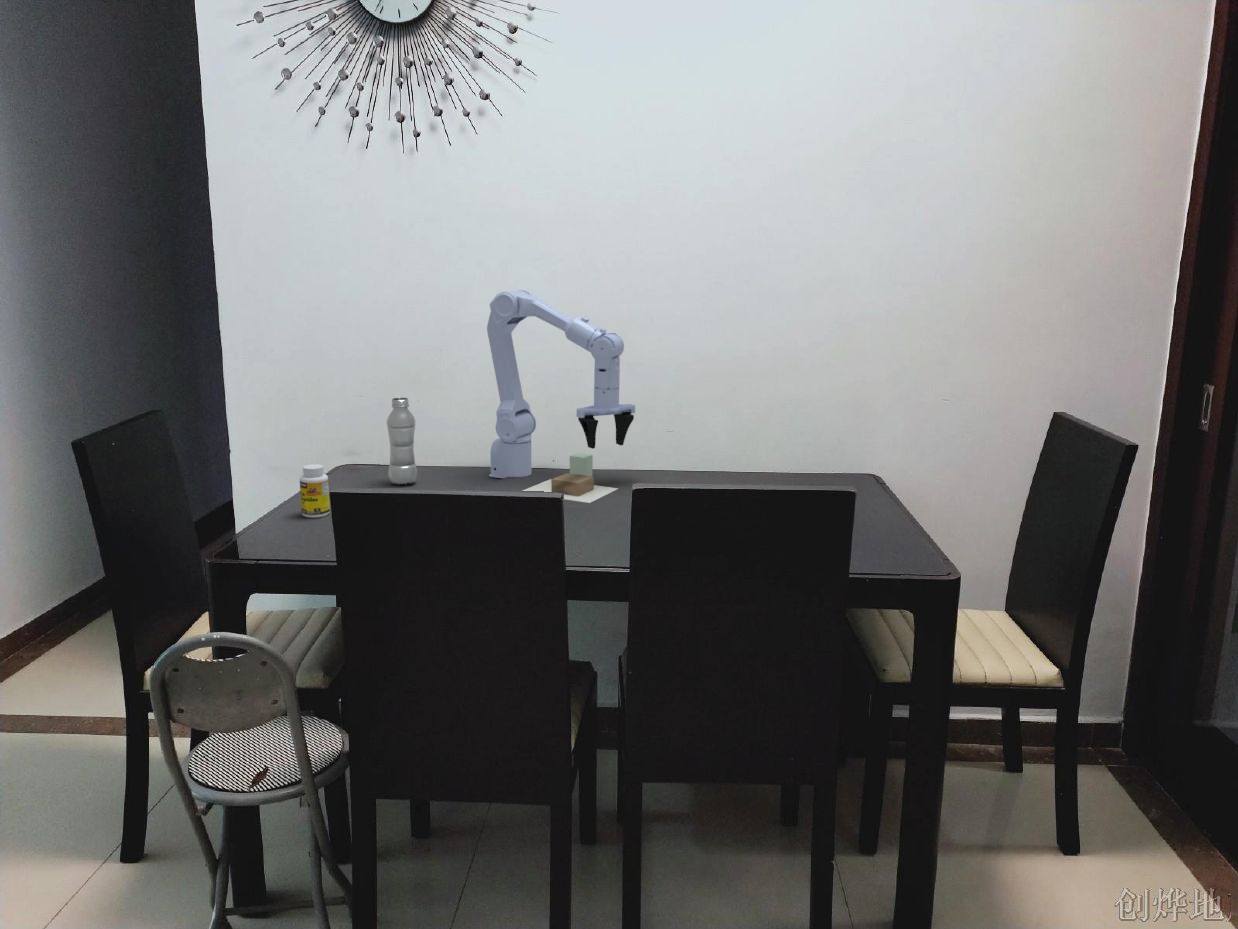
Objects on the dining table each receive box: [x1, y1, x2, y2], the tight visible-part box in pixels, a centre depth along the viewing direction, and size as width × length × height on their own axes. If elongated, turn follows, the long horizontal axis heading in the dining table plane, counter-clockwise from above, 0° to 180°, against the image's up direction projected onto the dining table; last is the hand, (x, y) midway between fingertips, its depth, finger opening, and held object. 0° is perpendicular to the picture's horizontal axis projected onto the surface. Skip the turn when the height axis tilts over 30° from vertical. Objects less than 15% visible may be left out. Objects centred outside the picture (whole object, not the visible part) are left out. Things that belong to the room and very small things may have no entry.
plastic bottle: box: [386, 397, 418, 485], centre depth 217 cm, size 6×7×20 cm
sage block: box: [569, 452, 594, 476], centre depth 225 cm, size 4×4×6 cm
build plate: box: [522, 478, 619, 504], centre depth 213 cm, size 18×14×1 cm
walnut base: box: [550, 472, 595, 496], centre depth 212 cm, size 7×7×3 cm
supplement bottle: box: [299, 463, 331, 519], centre depth 193 cm, size 6×6×10 cm
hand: (605, 446), depth 217 cm, fingers open, 7 cm apart
